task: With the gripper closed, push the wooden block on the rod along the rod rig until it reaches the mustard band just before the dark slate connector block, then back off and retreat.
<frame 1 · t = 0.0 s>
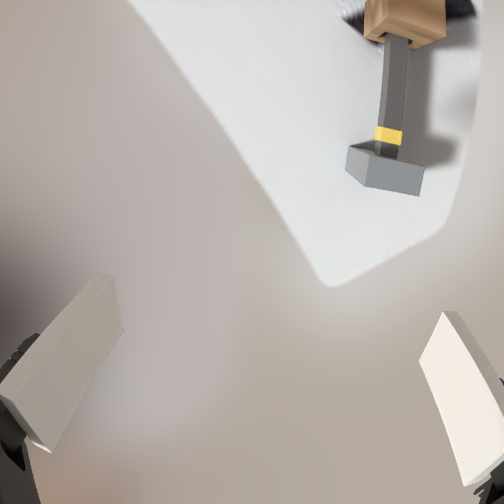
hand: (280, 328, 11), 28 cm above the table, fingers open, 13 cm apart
rod rig: (381, 65, 29), on the table
wooden block on rod: (401, 16, 21), point 7 cm above the table, slide at 0.0 cm
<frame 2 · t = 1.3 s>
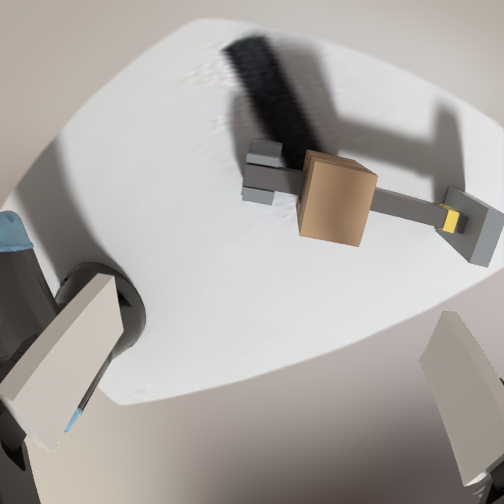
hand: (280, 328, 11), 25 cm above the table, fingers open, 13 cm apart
rod rig: (364, 187, 32), on the table
wooden block on rod: (330, 192, 27), point 7 cm above the table, slide at 0.0 cm
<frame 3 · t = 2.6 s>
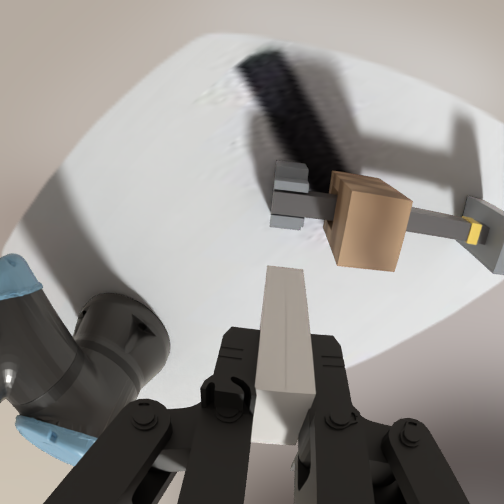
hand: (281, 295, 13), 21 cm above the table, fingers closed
rod rig: (388, 203, 32), on the table
wooden block on rod: (361, 216, 26), point 7 cm above the table, slide at 0.0 cm
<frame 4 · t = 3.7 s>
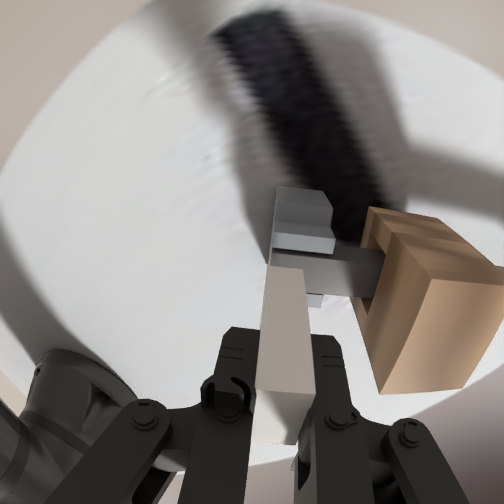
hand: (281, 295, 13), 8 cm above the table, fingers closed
rod rig: (439, 250, 20), on the table
wooden block on rod: (418, 291, 14), point 7 cm above the table, slide at 0.0 cm
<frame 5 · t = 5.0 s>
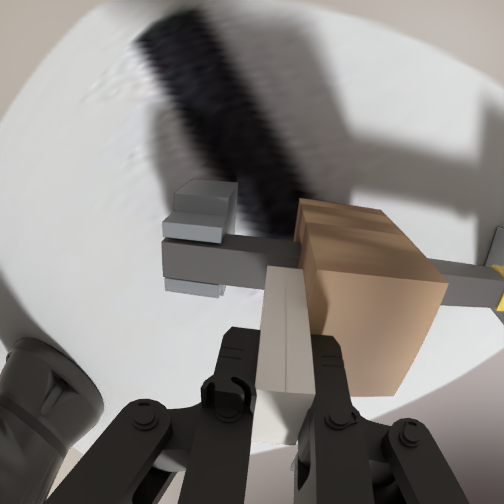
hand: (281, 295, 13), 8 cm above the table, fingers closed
rod rig: (377, 243, 20), on the table
wooden block on rod: (345, 287, 14), point 7 cm above the table, slide at 1.3 cm, touching gripper
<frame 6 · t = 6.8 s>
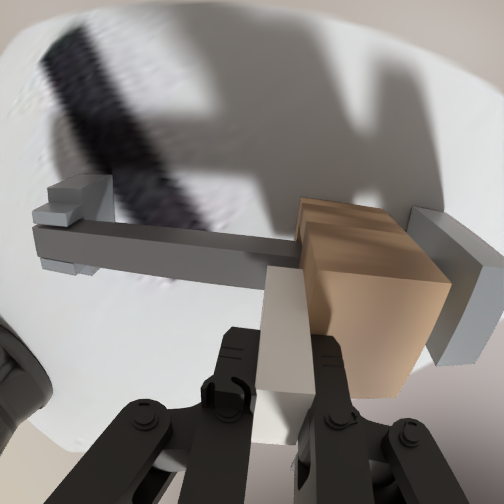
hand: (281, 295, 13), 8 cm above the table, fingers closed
rod rig: (248, 227, 20), on the table
wooden block on rod: (347, 287, 14), point 7 cm above the table, slide at 10.4 cm, touching gripper
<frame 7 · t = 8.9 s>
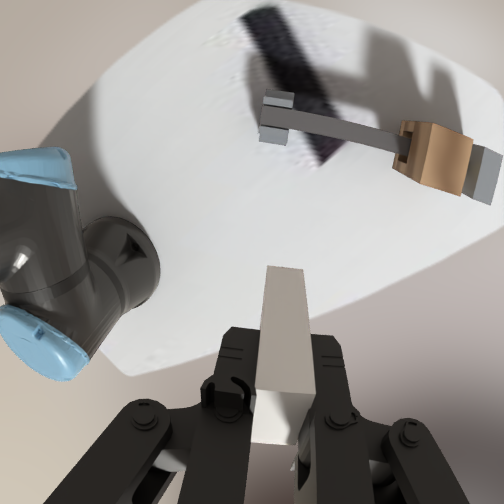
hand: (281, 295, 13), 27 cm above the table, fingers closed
rod rig: (370, 136, 34), on the table
wooden block on rod: (430, 154, 27), point 7 cm above the table, slide at 10.4 cm
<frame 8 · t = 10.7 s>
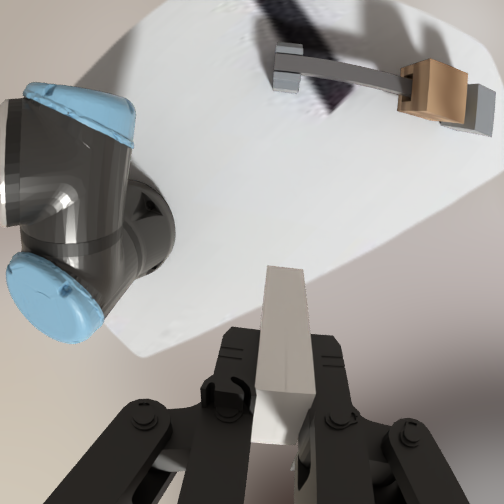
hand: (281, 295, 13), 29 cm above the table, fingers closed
rod rig: (373, 85, 33), on the table
wooden block on rod: (430, 92, 27), point 7 cm above the table, slide at 10.4 cm
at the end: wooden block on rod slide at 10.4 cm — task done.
